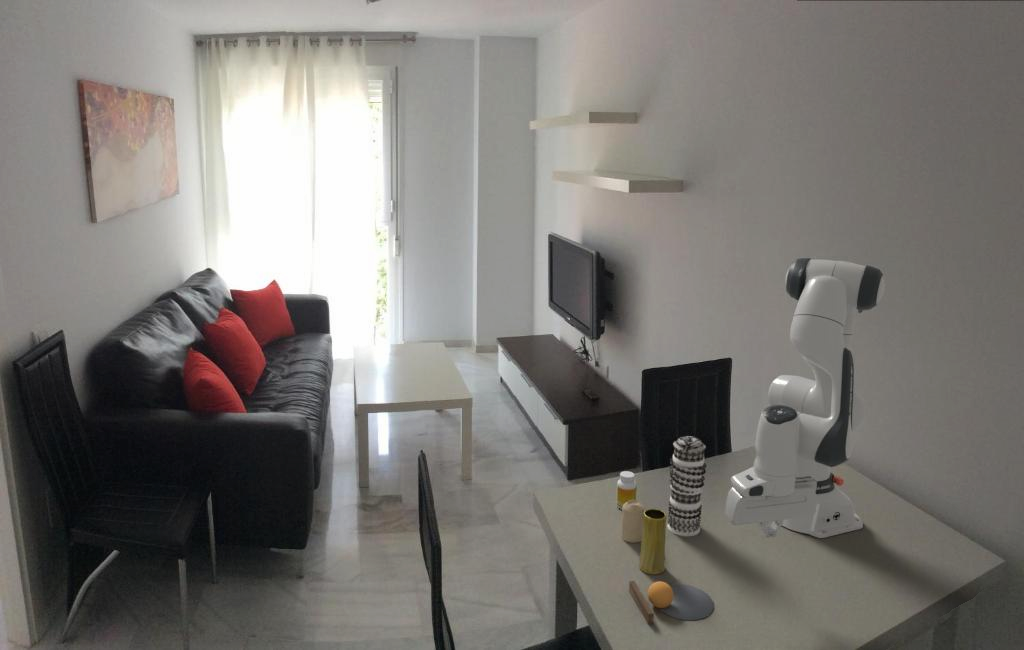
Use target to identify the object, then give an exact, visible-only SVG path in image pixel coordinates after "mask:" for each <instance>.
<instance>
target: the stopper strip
mask: <svg viewBox="0 0 1024 650" xmlns="http://www.w3.org/2000/svg"><path fill="white" fill-rule="evenodd" d="M628 581H629V580H628ZM628 584H629V585H628V592H629V594H630V596H631V597H632V599H633V602H634V603H635V605H637V608H638V609H639V611H640V613H641V615H642V616H643V618H644V619H645V622H646V623H647V625H654V621H655V613H654V611H653V610H652V607H651V606H650V604H649V602H648V601H647V599H646V597H645V596H644V595H643V593H642V591H641V590H640V588H639V586H638V585H637V582H636V581H635V580H631V581H629V582H628Z"/></svg>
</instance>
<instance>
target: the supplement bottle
mask: <svg viewBox="0 0 1024 650" xmlns="http://www.w3.org/2000/svg"><path fill="white" fill-rule="evenodd" d="M637 486H638V485H637V482H636V480H635V473H634V472H632V471H627V470H625V471H621V472H620V473H619V479H618V480H617V482H616V499H615V501H616V503H615V505H616V507H617V509H619V508H620V510H622V506H623V504H625V503H626V502H627V501H629V500H637V488H638V487H637Z"/></svg>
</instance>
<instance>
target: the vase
mask: <svg viewBox="0 0 1024 650" xmlns="http://www.w3.org/2000/svg"><path fill="white" fill-rule="evenodd" d="M666 526H667V514H666V512H665V511H664V510H662V509H658V508H648V509H646V510H645V509H644V516H643V532H642V540H641V543H640V544H641V545H640V555H639V563H638V567H639V570H641V572H644V573H645V574H648V575H659V574H662V573H664V571H665V567H666V566H665V560H666V557H665V556H666V555H665V554H666V533H667V532H666V531H667V530H666V528H667V527H666Z"/></svg>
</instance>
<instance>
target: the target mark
mask: <svg viewBox="0 0 1024 650" xmlns="http://www.w3.org/2000/svg"><path fill="white" fill-rule="evenodd" d="M668 585H669V586H670V587H671V588H672V591H673V600H672V602H671V604H670V605H669V606H667V607H665V608H658V610H659V611H661V612H662V613H663V614H665V615H667V616H669V617H671V618H674V619H678V620H683V621H698V620H702V619H703V620H704V619H705V618H707V617H709V616H710V615H711V614H712V613H713V611H714V607H715V606H714V601H713V599H712V598H711V596H710V595H709V594H708V593H706V592H705V591H704V590H702V589H700V588H699V587H696V586H693V585H689V584H685V583H684V584H683V583H670V584H668Z"/></svg>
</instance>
